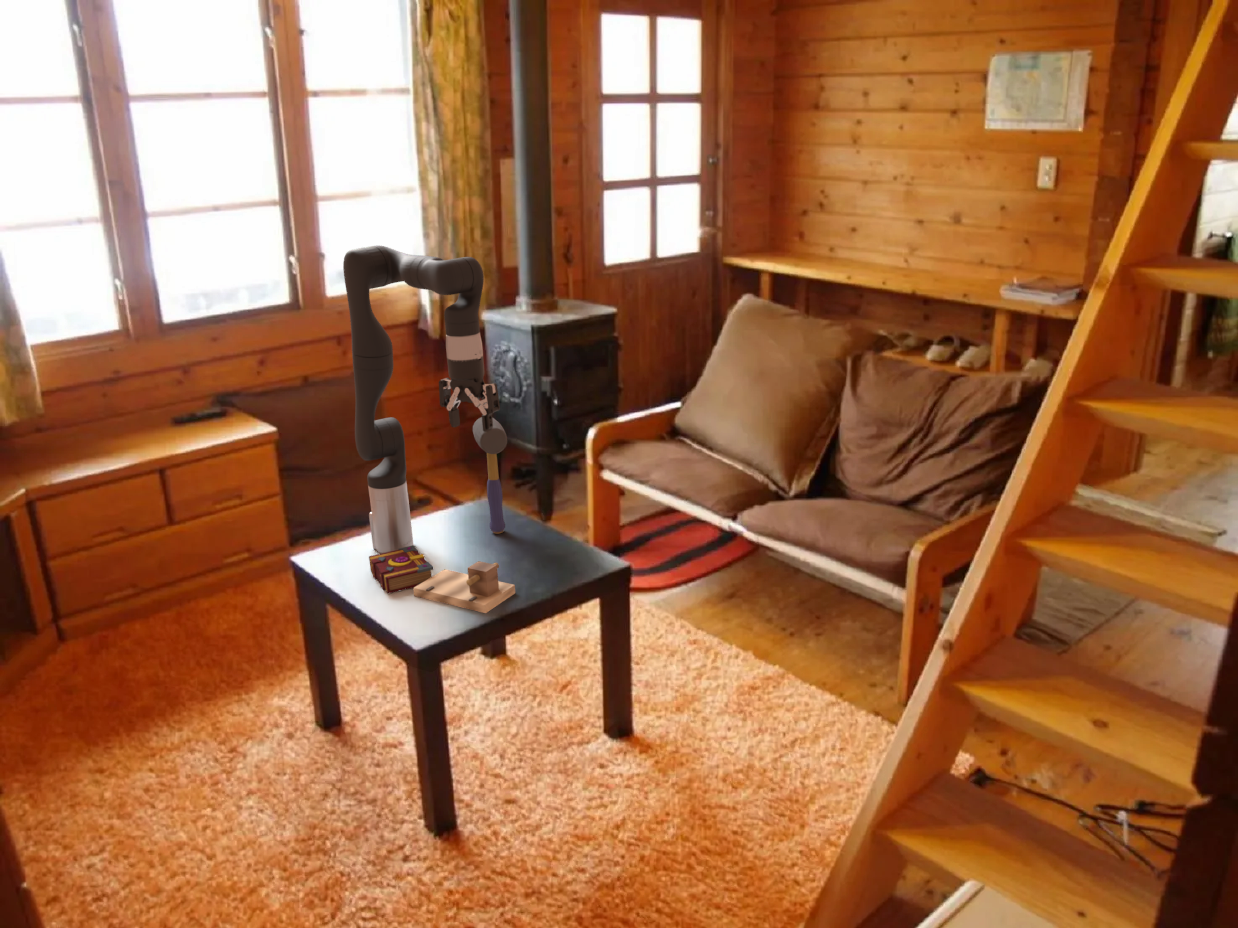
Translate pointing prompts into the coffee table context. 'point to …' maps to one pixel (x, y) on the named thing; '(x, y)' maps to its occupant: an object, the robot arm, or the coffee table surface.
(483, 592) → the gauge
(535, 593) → the coffee table surface
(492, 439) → the rubber mallet
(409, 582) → the decorative book
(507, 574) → the coffee table surface
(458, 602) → the board
